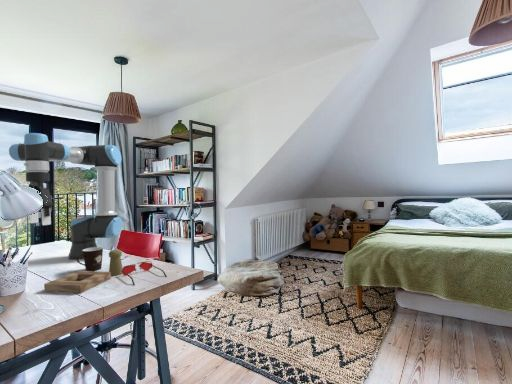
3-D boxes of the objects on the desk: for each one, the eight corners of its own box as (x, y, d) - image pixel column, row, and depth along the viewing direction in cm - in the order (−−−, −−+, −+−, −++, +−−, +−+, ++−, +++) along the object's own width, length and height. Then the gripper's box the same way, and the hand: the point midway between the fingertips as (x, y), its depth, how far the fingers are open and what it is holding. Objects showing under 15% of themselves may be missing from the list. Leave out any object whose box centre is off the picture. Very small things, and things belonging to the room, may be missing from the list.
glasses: (152, 269, 129) (151, 259, 129) (167, 277, 117) (166, 266, 117) (120, 277, 120) (120, 265, 120) (133, 286, 108) (133, 274, 108)
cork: (126, 272, 125) (125, 249, 124) (114, 276, 119) (113, 252, 119) (117, 271, 127) (116, 248, 127) (105, 275, 122) (104, 251, 121)
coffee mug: (101, 265, 137) (100, 246, 137) (106, 269, 131) (105, 248, 131) (73, 271, 129) (72, 250, 129) (78, 275, 123) (77, 253, 123)
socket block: (78, 277, 120) (78, 270, 120) (110, 278, 117) (110, 271, 117) (44, 291, 104) (44, 283, 104) (80, 293, 101) (80, 285, 101)
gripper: (16, 173, 114) (18, 223, 115) (37, 169, 100) (40, 227, 100) (37, 173, 120) (40, 221, 121) (61, 170, 106) (63, 224, 107)
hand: (40, 223), depth 111 cm, fingers open, 13 cm apart
